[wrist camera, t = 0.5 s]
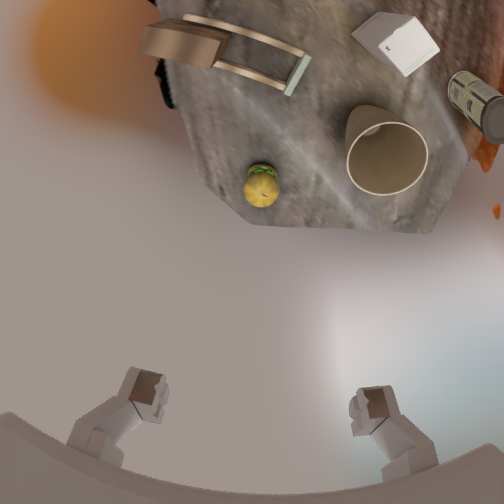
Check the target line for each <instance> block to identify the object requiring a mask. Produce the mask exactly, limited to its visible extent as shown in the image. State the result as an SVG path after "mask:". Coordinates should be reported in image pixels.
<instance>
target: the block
mask: <svg viewBox="0 0 504 504" xmlns="http://www.w3.org/2000/svg"><path fill="white" fill-rule="evenodd" d="M231 34H232V33H228V32H225V31H221V30H218V29H214V28H210V27H206V26H202V25H197V24H193V23H188V22H183V21H178V20H172V19H169V20H165V21H161V22H158V23H155V24H151V25H147V26H145V30H144V33H143V37H142V41H141V45H140V49H139V54H144V55H150V56H155V57H161V58H166V59H170V60H175V61H179V62H183V63H188V64H192V65H195V66H199V67H203V68H206V69H210V68H211V67H212V66H213V65H214V64H215V63H216V62H217V61H218V60H219V59H220V58H221V57H222V56H223V53H224V51H225V48H226V46H227V43H228V41H229V39H230V36H231Z"/></svg>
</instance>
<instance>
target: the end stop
mask: <svg viewBox="0 0 504 504" xmlns="http://www.w3.org/2000/svg"><path fill="white" fill-rule="evenodd" d="M304 52H305V53H304V54H303V56H302V58H301V57H300V58H299V59H298V61H297V63H296V65H295V67H294V68H293V70H292V72H291V74H290V76H289V78H288V79H287V81H286V87H285V89H284V94H285V95H288V96H290V95H291V93H292V92H293V90H294V88H295V86H296V84H297V83H298V81H299V79H300V77H301V76H302V74H303V72H304V70H305V68H306V67H307V65H308V63H309V62H310V60H311V58H312V56H311V55H310V53H308V52H306V51H304Z"/></svg>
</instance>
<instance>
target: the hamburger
mask: <svg viewBox="0 0 504 504" xmlns="http://www.w3.org/2000/svg"><path fill="white" fill-rule="evenodd" d="M277 179H278V178H277V172H276V171H275V170H274V169H273V168H272V167H270V166H268V165H263V164H258V165H254V166H252V167H251V168H250V169H249V171H248V177H247V181H246V182H245V184H244V186H243V187H244V190H243V191H244V196H245V198H246V200H247V201H248V202H249V203H250V204H252V205H253V206H256V207H267V206H269V205H271V204H272V203H274V202H275V200H276V199H277V197H278V195H279V185H278V180H277Z"/></svg>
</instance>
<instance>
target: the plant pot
mask: <svg viewBox="0 0 504 504" xmlns="http://www.w3.org/2000/svg"><path fill="white" fill-rule="evenodd" d="M345 155H346V165H347V171H348V174H349V177H350V178H351V180H352V182H353V183H354V184H355V185H356V186H357V187H358V188H360V189H361V190H363V191H365V192H367V193H370V194H374V195H392V194H396V193H399V192H402V191H404V190H406V189H408V188H409V187H411V186H412V185H413V184H415V183H416V182H417V181H418V180H419V178H420V177H421V176H422V174H423V172H424V171H425V168H426V165H427V161H428V148H427V145H426V142H425V140H424V138H423V137H422V135H421V134H420V133H419V132H418V131H417V130H416V129H414V128H413V127H412V126H411V125H409V124H408V123H407V122H405V121H404V120H403V119H401V118H400V117H398V116H396V115H395V114H393V113H391V112H389V111H387V110H384V109H382V108H379V107H376V106H371V105H360V106H358V107H356V108H354V109H353V110H352V112H351V113H350V115H349V118H348V121H347V125H346V132H345Z"/></svg>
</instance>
